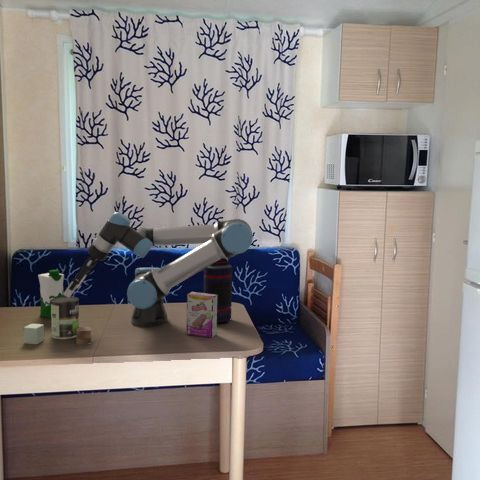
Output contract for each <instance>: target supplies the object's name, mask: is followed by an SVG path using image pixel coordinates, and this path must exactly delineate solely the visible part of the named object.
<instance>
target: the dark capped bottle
mask: <svg viewBox="0 0 480 480" xmlns="http://www.w3.org/2000/svg"><path fill="white" fill-rule="evenodd" d="M203 274H204V275H203V293H206V294H214V295H217V323H225V322H226V323H227V324H228V322H229V321H230V322H231V320H232V304H233V303H232V299H233V298H232V297H233V292H232V291H233V275H232V274H233V265H231V264H230V263H229V259H224V258H221V259H220V260H218V261H216V262H215V263H213V264H211V265H210V266H208V267H206V268H204V269H203ZM230 322H229V323H230Z"/></svg>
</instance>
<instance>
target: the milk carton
mask: <svg viewBox="0 0 480 480" xmlns="http://www.w3.org/2000/svg"><path fill="white" fill-rule="evenodd" d="M37 277H38V281H39V286H40V287H39V291H40V294H39V295H40V314H39V315H40V316H42V317H44V318H47V319H51V299H54V298H57V297H64V295H63V293H64V278H65V274H64V273H63V274H62V273H60V270H59V269H50V270H48V272H46V273H41V274H38V275H37Z"/></svg>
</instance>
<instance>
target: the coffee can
mask: <svg viewBox="0 0 480 480" xmlns="http://www.w3.org/2000/svg"><path fill="white" fill-rule="evenodd" d="M79 301H80V299H79V297H77V296H70V298H68V297H66V296H63V297H57V298H54V299H51V318H50V319H51V338H53V339H56V340H70V339H75V338H77V332H76V331H77V327H80V308H79V307H80V302H79Z"/></svg>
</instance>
